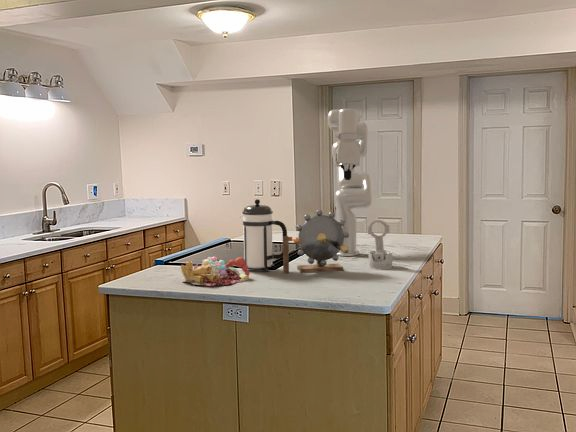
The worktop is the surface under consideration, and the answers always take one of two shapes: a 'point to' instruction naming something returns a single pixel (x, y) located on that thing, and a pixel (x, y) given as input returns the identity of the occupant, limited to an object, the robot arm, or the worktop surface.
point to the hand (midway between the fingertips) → (347, 179)
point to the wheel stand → (305, 267)
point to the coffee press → (259, 236)
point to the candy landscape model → (215, 272)
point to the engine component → (379, 249)
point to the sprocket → (321, 237)
